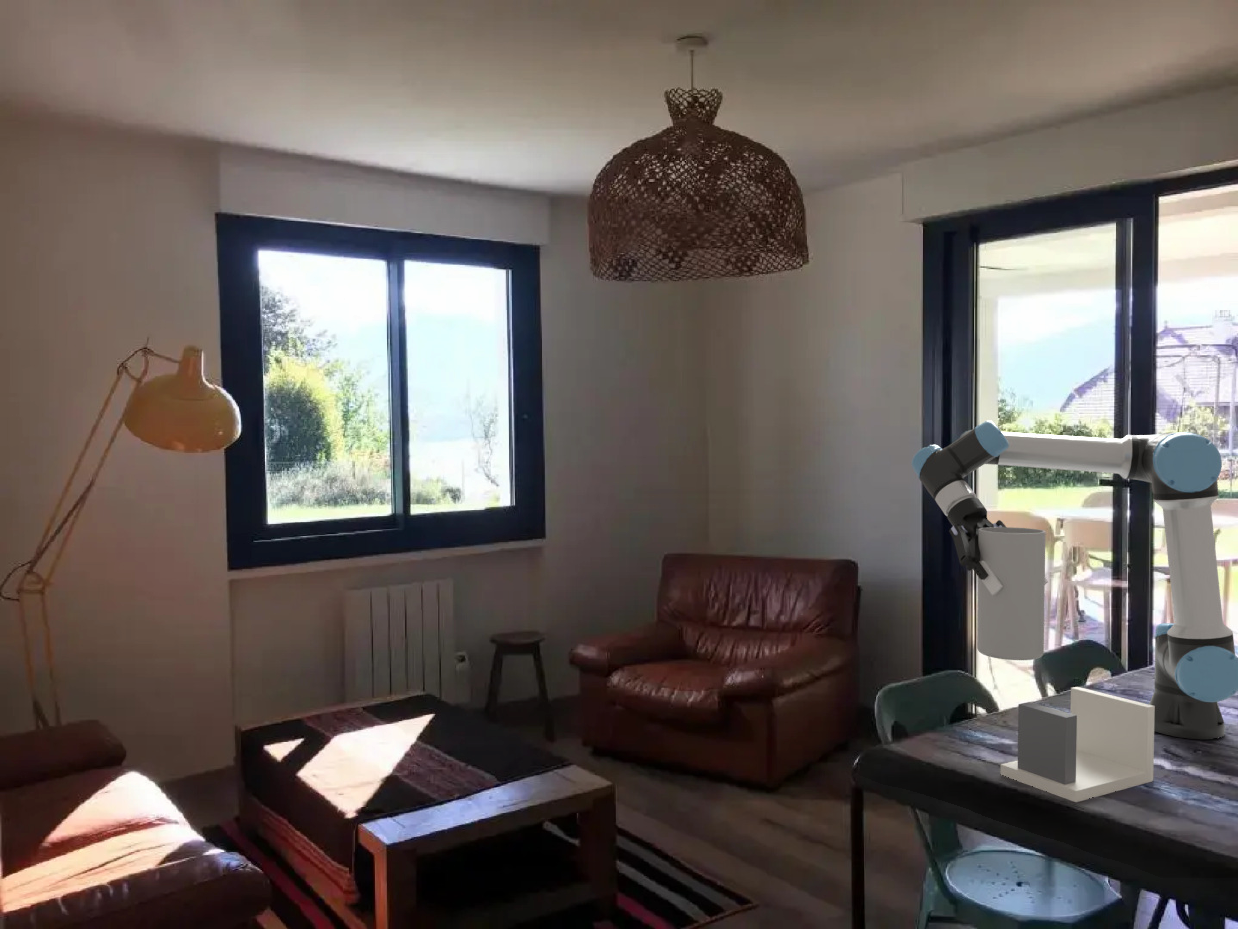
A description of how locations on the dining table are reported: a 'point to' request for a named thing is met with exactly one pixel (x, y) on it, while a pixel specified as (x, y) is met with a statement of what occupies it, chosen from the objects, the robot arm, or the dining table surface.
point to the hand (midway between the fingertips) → (1020, 588)
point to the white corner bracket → (1084, 746)
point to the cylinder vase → (1012, 593)
